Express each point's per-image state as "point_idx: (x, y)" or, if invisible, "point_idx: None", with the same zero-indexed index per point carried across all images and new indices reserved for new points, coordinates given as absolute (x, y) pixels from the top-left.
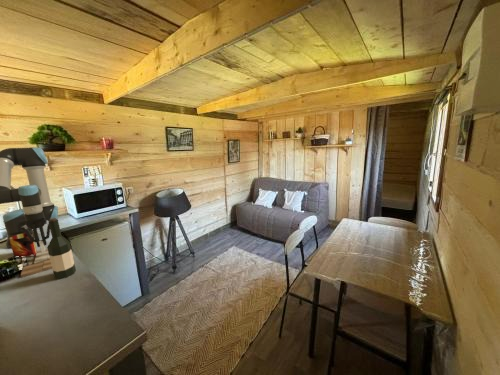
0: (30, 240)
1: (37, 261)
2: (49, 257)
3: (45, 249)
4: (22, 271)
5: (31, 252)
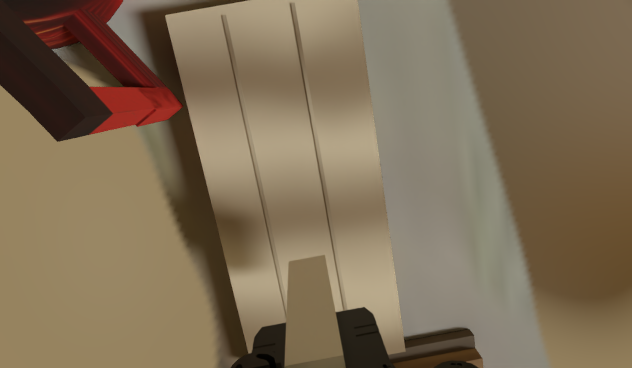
0: (22, 55)
1: None
2: None
3: (261, 31)
4: None
5: (122, 84)
